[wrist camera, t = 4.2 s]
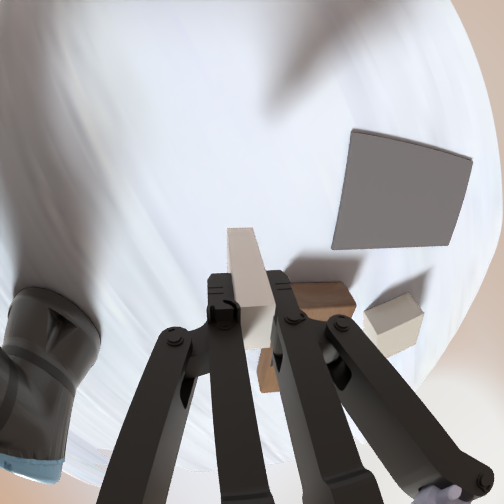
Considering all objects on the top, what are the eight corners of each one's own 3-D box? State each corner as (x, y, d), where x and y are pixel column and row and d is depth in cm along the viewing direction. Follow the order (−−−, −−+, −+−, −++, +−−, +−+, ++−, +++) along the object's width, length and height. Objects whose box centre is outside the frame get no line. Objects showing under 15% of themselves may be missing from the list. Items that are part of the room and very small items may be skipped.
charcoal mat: (331, 248, 30) (332, 250, 30) (351, 131, 23) (353, 132, 23) (446, 244, 33) (448, 245, 33) (471, 160, 26) (473, 161, 26)
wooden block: (358, 304, 29) (316, 387, 39) (343, 280, 33) (309, 365, 42) (283, 308, 28) (260, 394, 37) (274, 281, 31) (255, 370, 41)
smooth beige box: (362, 340, 42) (374, 363, 37) (363, 310, 37) (377, 335, 33) (402, 323, 41) (415, 343, 37) (407, 291, 37) (424, 313, 33)
